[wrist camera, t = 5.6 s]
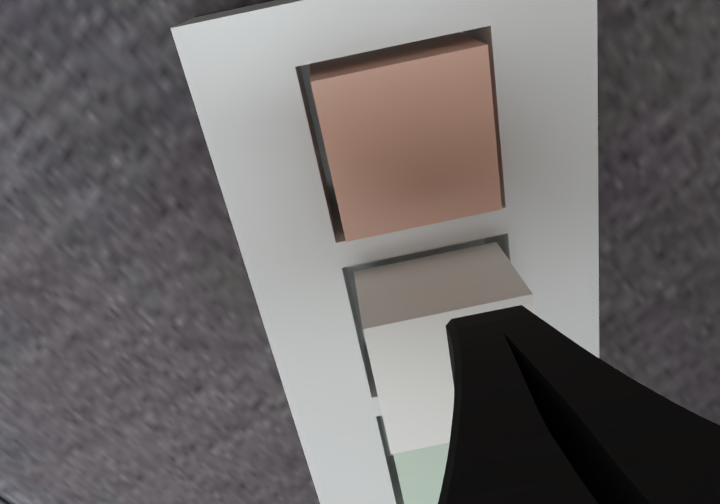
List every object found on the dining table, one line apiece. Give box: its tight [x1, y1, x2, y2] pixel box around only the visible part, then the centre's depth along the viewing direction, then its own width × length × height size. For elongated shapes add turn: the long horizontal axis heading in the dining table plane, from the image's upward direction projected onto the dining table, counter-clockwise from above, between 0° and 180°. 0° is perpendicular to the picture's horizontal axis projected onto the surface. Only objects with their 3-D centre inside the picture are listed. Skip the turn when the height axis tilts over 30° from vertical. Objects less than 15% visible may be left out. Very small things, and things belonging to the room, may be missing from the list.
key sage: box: [393, 442, 450, 504], centre depth 21 cm, size 4×4×3 cm
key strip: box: [170, 0, 599, 504], centre depth 20 cm, size 10×24×3 cm, turn 11°
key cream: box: [354, 242, 534, 454], centre depth 16 cm, size 4×4×3 cm
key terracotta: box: [310, 32, 502, 242], centre depth 16 cm, size 4×4×3 cm
